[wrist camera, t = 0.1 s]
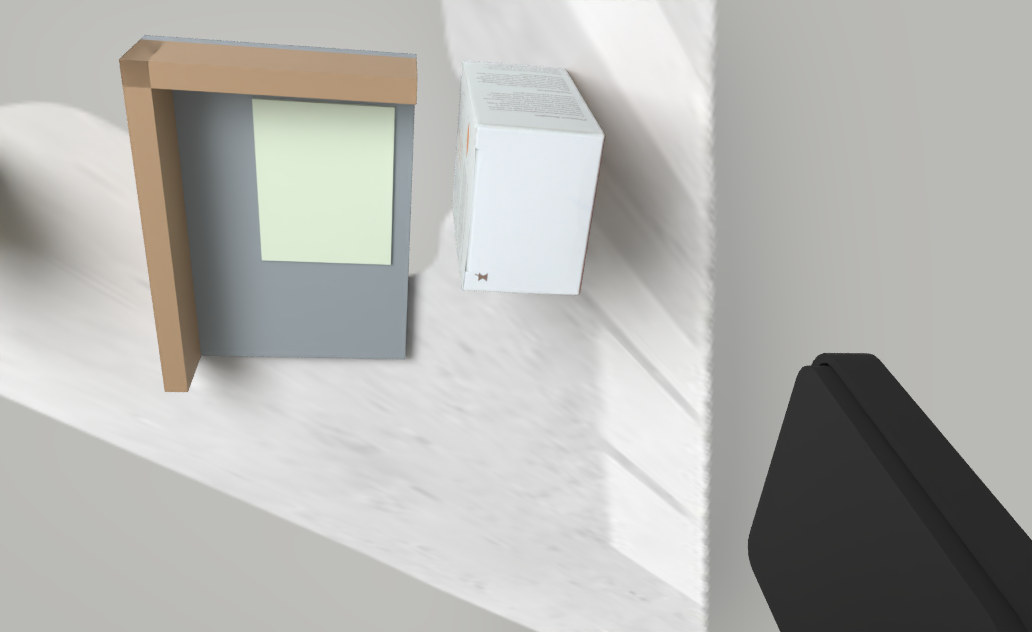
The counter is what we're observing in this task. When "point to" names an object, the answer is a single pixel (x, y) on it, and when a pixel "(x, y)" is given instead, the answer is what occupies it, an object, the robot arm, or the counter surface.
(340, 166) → the pad
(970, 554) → the robot arm
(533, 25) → the counter surface
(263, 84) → the arena
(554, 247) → the small box
